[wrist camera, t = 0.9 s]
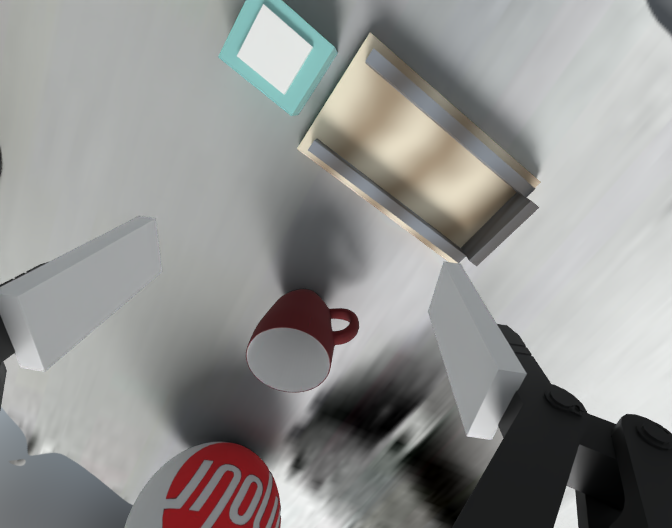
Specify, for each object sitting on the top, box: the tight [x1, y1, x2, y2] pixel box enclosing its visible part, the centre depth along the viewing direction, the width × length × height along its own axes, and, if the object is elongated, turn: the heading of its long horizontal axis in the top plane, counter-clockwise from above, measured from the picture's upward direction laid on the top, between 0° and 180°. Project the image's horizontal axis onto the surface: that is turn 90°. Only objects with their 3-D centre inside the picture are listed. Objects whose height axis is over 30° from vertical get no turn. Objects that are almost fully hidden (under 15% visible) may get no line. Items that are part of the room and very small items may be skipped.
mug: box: [246, 289, 359, 392], centre depth 35 cm, size 10×8×10 cm
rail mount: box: [297, 33, 541, 266], centre depth 30 cm, size 20×11×4 cm, turn 55°
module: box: [218, 0, 338, 116], centre depth 27 cm, size 7×6×4 cm
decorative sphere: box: [125, 442, 281, 528], centre depth 45 cm, size 20×20×20 cm
